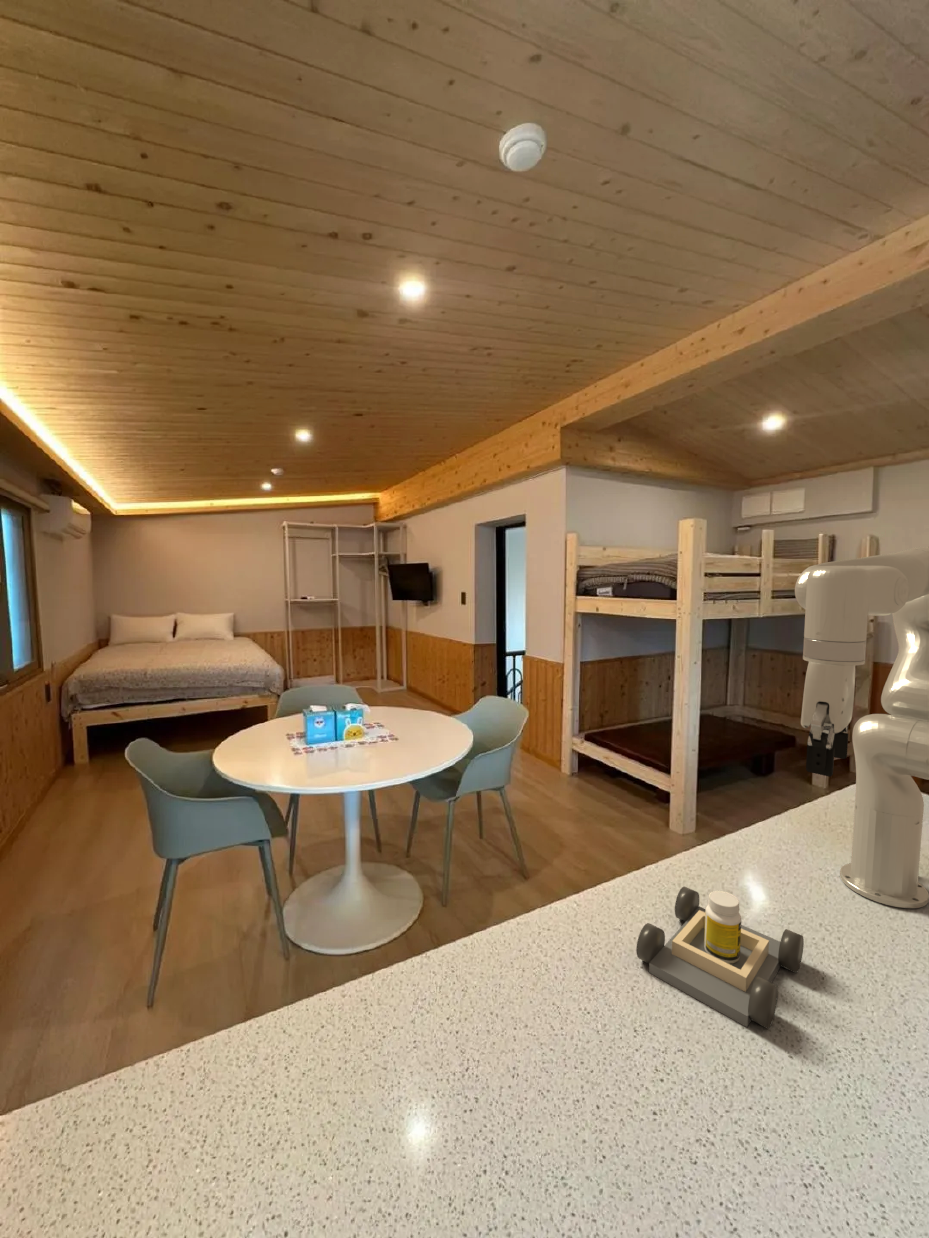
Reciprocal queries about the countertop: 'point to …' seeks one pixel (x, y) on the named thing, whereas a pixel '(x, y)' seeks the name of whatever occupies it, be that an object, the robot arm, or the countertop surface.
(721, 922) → the supplement bottle
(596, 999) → the countertop surface
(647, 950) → the toy chassis
